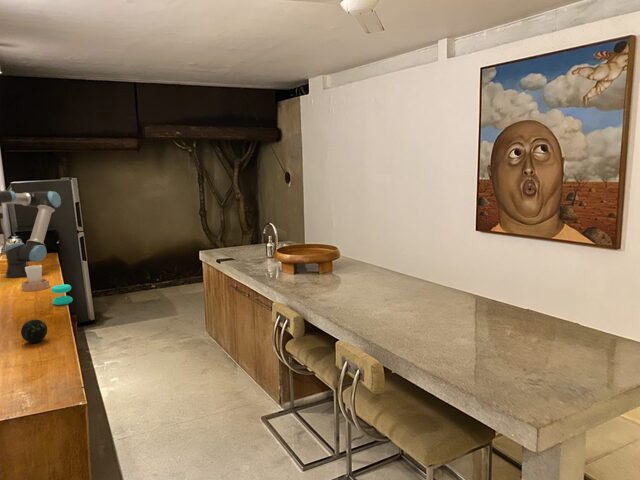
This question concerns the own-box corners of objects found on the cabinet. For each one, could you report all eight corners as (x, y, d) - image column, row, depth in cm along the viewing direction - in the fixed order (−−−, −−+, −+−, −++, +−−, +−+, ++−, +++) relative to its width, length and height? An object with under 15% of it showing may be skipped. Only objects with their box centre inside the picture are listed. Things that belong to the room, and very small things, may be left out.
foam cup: (47, 284, 318) (45, 265, 316) (38, 288, 309) (35, 268, 307) (33, 284, 319) (31, 265, 317) (23, 288, 310) (21, 268, 308)
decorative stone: (52, 337, 222) (50, 316, 220) (41, 345, 212) (38, 323, 210) (30, 338, 221) (27, 316, 220) (17, 346, 211) (14, 324, 210)
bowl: (24, 287, 318) (23, 280, 317) (50, 284, 324) (49, 277, 323) (20, 292, 304) (20, 285, 304) (48, 289, 310) (47, 282, 310)
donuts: (72, 283, 283) (68, 287, 273) (74, 300, 284) (70, 304, 275) (53, 284, 280) (48, 288, 270) (55, 301, 282) (50, 306, 272)
